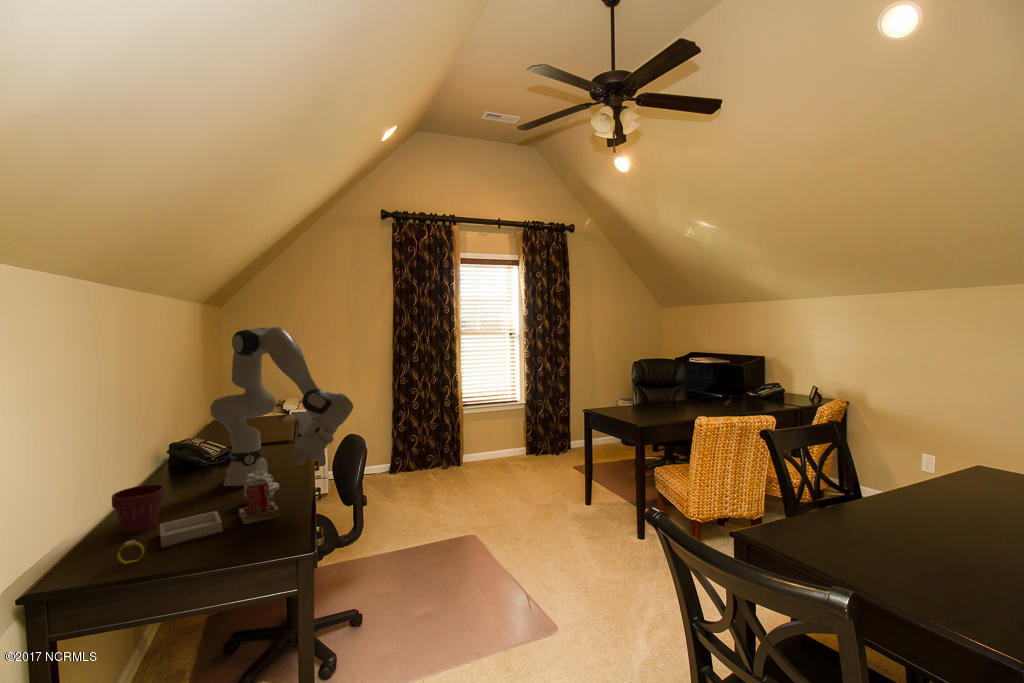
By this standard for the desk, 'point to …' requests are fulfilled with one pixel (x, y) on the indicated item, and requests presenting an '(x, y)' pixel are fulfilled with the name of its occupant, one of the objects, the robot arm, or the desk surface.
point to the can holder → (259, 514)
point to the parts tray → (189, 528)
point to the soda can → (258, 497)
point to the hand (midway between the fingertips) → (294, 462)
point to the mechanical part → (261, 476)
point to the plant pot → (138, 507)
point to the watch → (126, 544)
